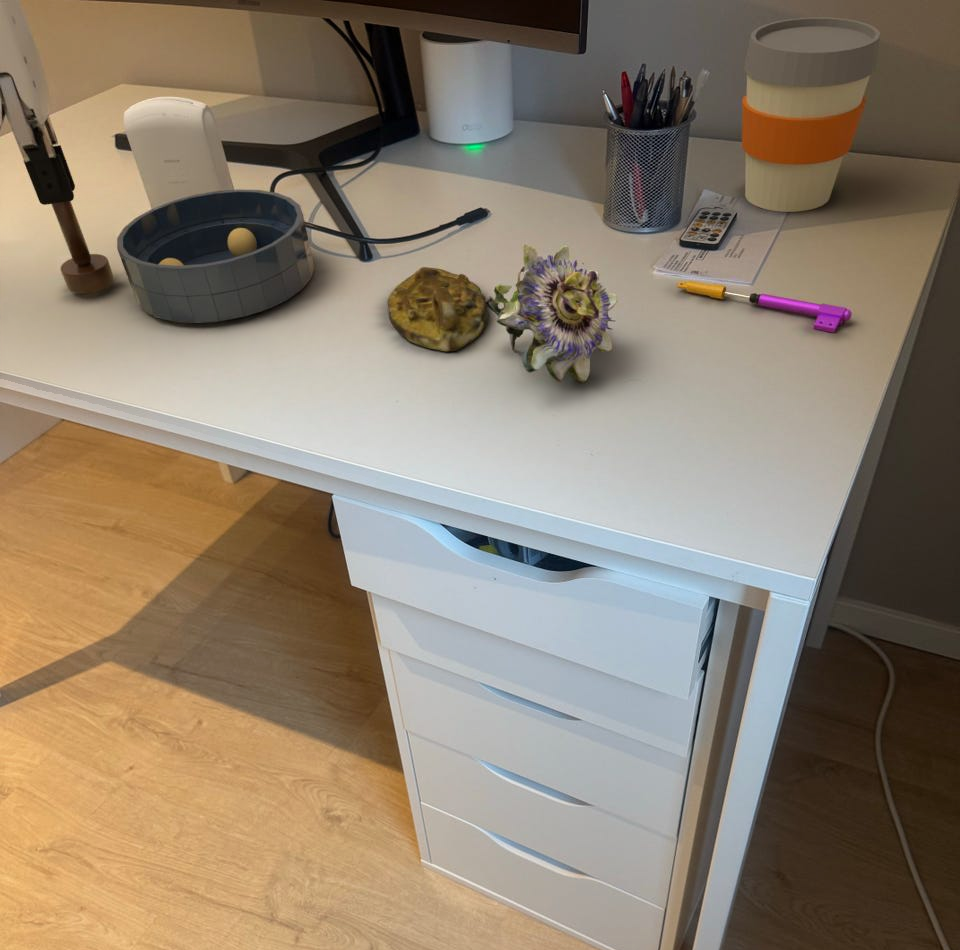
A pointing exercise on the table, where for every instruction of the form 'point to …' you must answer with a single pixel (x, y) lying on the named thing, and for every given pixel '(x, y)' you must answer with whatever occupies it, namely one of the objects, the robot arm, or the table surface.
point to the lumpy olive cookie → (438, 309)
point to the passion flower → (556, 314)
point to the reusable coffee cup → (803, 107)
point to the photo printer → (176, 148)
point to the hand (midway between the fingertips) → (58, 195)
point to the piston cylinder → (779, 304)
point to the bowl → (216, 256)
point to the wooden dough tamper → (80, 255)
